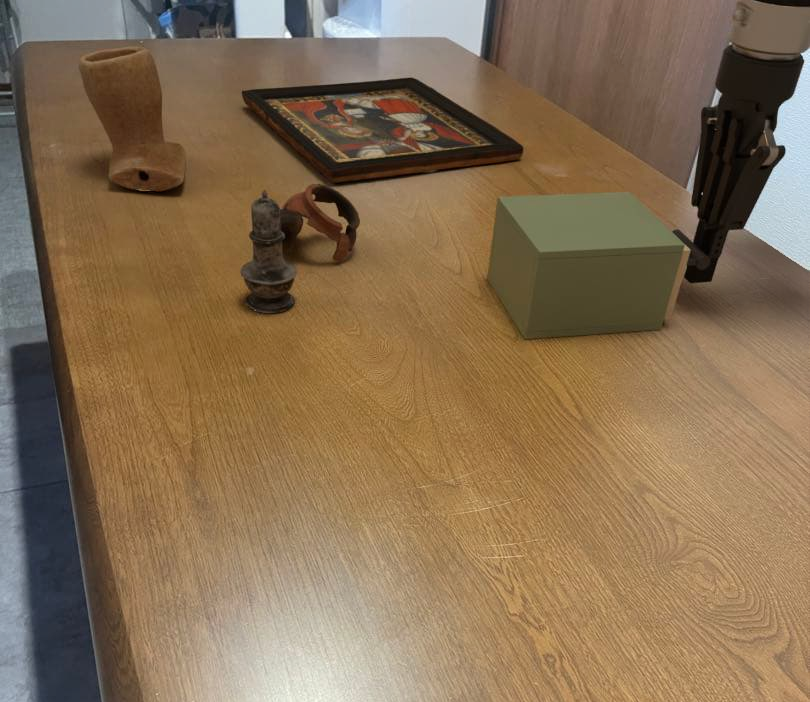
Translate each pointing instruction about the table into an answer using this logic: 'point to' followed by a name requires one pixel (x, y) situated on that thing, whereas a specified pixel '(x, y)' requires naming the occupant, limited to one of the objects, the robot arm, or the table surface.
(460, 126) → the framed icon painting
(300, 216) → the broken clay pot
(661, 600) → the table surface
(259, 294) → the salt shaker
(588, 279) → the cabinet
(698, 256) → the drawer
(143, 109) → the clay pipe bowl
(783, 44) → the robot arm
